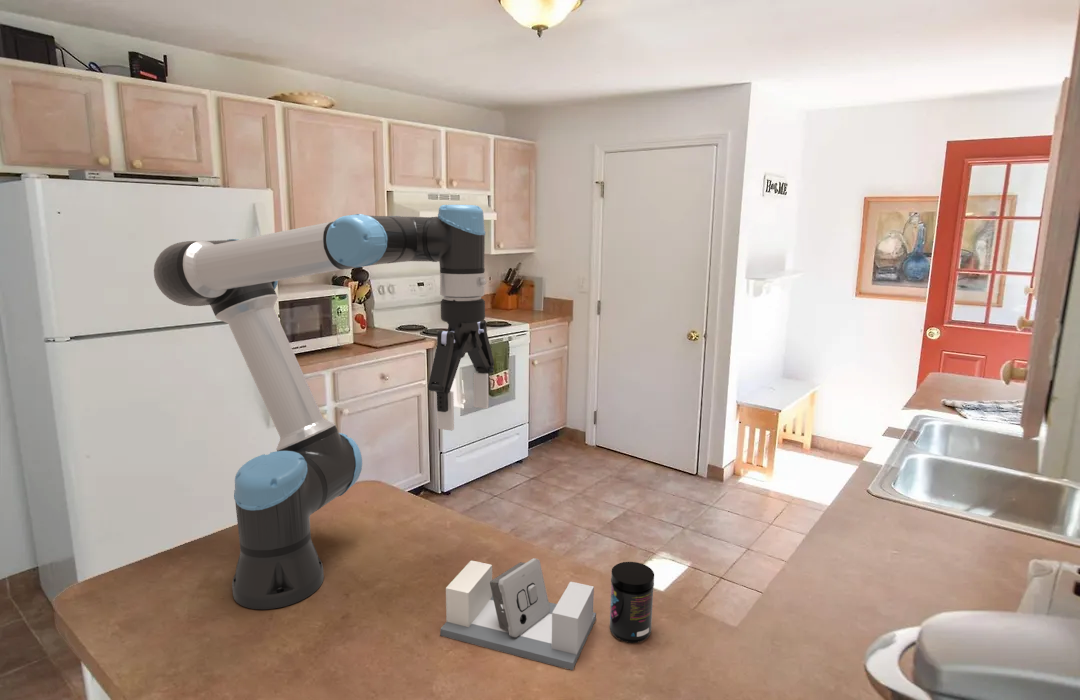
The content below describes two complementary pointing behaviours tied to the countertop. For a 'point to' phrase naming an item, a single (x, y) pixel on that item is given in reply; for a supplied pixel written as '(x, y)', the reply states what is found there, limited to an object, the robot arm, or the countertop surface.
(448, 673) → the countertop surface
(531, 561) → the electrical switch
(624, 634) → the supplement container
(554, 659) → the rail plate
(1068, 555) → the countertop surface
